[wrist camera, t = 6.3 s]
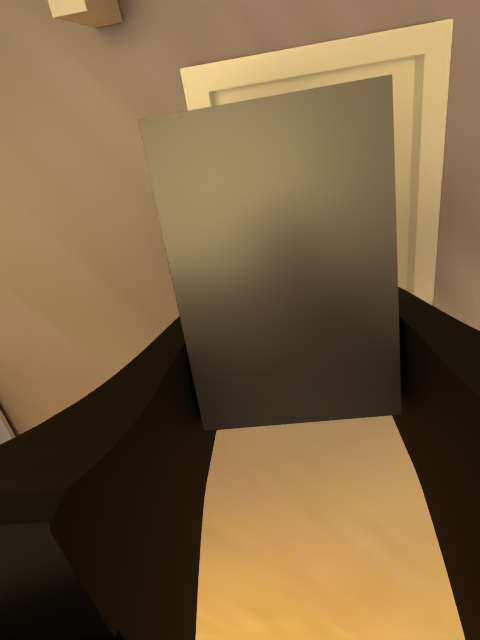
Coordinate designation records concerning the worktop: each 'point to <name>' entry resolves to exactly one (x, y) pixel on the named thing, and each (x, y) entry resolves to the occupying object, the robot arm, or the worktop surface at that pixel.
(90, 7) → the bay
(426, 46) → the tray
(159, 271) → the worktop surface
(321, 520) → the worktop surface
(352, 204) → the tall grey-green carton
